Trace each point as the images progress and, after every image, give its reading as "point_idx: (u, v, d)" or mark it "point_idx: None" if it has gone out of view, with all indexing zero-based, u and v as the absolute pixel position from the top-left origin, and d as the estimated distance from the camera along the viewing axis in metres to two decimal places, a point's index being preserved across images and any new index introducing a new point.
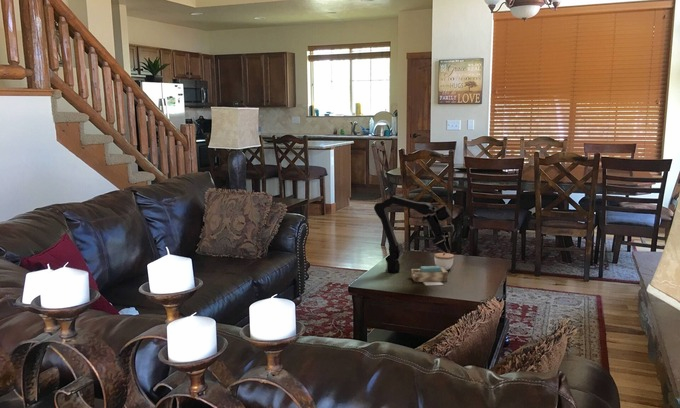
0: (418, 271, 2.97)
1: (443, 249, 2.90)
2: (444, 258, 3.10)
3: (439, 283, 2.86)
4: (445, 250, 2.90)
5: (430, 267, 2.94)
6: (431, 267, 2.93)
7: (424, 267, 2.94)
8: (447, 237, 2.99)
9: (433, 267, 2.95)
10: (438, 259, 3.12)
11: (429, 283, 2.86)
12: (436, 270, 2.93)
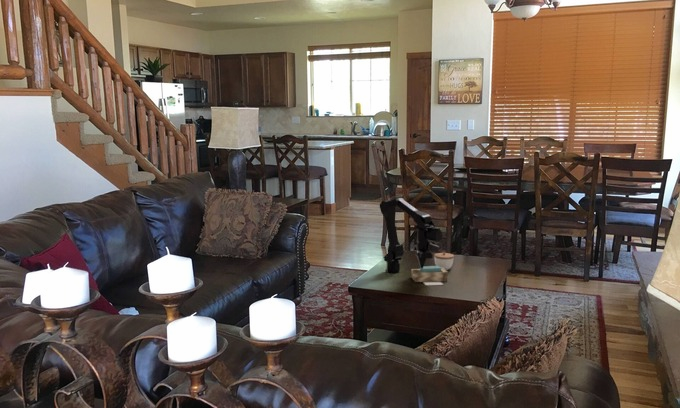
0: (418, 271, 2.97)
1: (421, 263, 2.92)
2: (444, 258, 3.10)
3: (439, 283, 2.86)
4: (422, 264, 2.93)
5: (430, 267, 2.94)
6: (431, 267, 2.93)
7: (424, 267, 2.94)
8: None
9: (432, 267, 2.95)
10: (438, 259, 3.12)
11: (429, 283, 2.86)
12: (436, 270, 2.93)
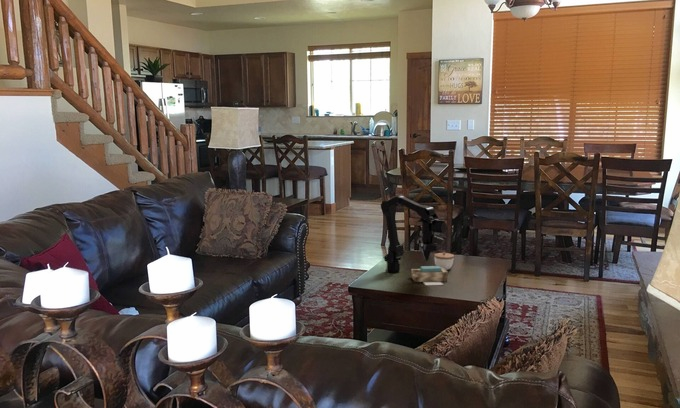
0: (418, 271, 2.97)
1: (426, 256, 2.92)
2: (444, 258, 3.10)
3: (439, 283, 2.86)
4: (427, 257, 2.92)
5: (430, 267, 2.94)
6: (431, 267, 2.93)
7: (424, 267, 2.94)
8: None
9: (433, 267, 2.95)
10: (438, 259, 3.12)
11: (429, 283, 2.86)
12: (436, 270, 2.93)
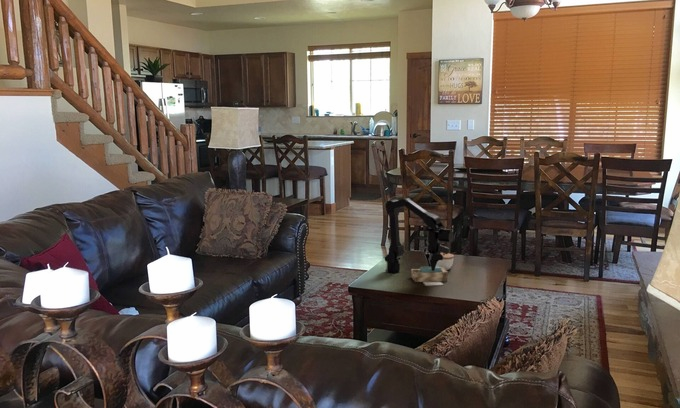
0: (418, 271, 2.97)
1: (432, 266, 2.91)
2: (444, 258, 3.10)
3: (439, 283, 2.86)
4: (433, 267, 2.91)
5: (430, 267, 2.94)
6: None
7: (424, 267, 2.94)
8: None
9: None
10: None
11: (429, 283, 2.86)
12: (436, 270, 2.93)
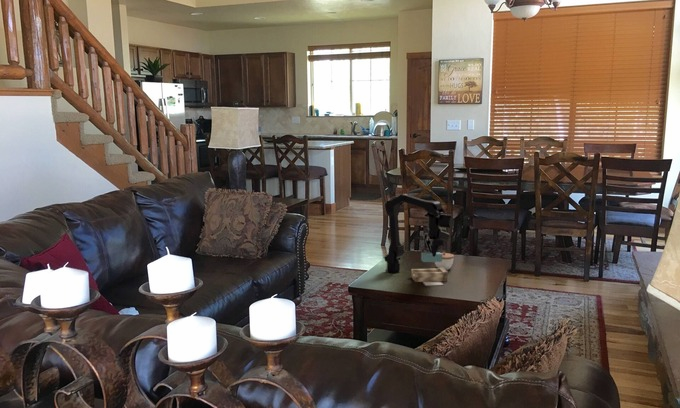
0: (418, 271, 2.97)
1: (433, 252, 2.89)
2: (444, 258, 3.10)
3: (439, 283, 2.86)
4: (434, 253, 2.89)
5: (431, 253, 2.92)
6: None
7: (425, 253, 2.92)
8: None
9: None
10: None
11: (429, 283, 2.86)
12: (437, 256, 2.90)
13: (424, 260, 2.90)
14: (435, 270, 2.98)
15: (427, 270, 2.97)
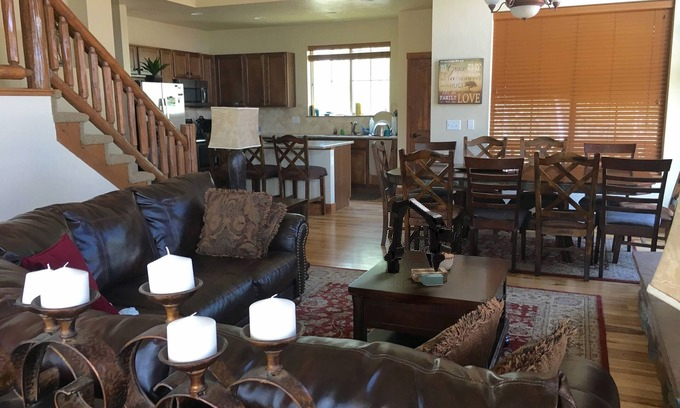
0: (418, 271, 2.97)
1: (435, 267, 2.80)
2: None
3: None
4: (436, 269, 2.80)
5: (431, 275, 2.86)
6: (433, 276, 2.85)
7: (426, 275, 2.86)
8: None
9: (434, 275, 2.86)
10: None
11: None
12: (438, 278, 2.84)
13: (424, 283, 2.84)
14: None
15: (427, 270, 2.97)
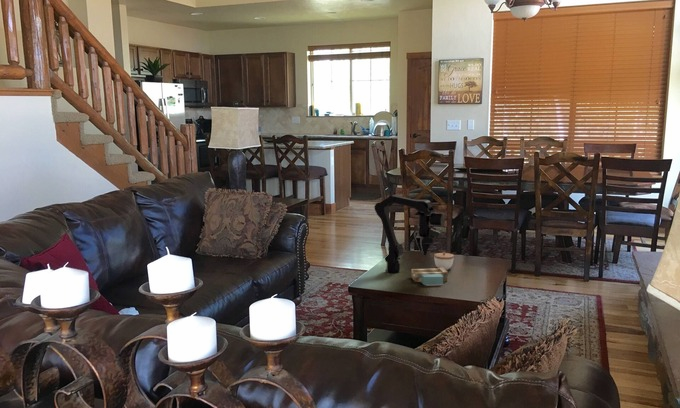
0: (418, 271, 2.97)
1: (424, 250, 2.92)
2: (444, 258, 3.10)
3: None
4: (425, 252, 2.93)
5: (431, 275, 2.86)
6: (433, 276, 2.85)
7: (426, 275, 2.86)
8: None
9: (434, 275, 2.86)
10: (438, 259, 3.12)
11: None
12: (438, 278, 2.84)
13: (424, 283, 2.84)
14: (435, 270, 2.98)
15: (427, 270, 2.97)
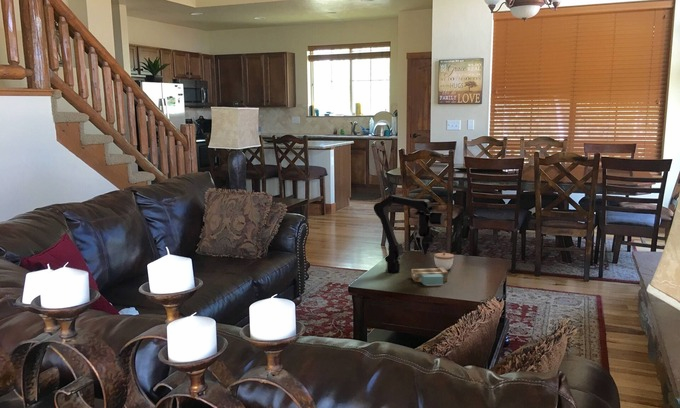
0: (418, 271, 2.97)
1: (424, 250, 2.93)
2: (444, 258, 3.10)
3: None
4: (425, 251, 2.93)
5: (431, 275, 2.86)
6: (433, 276, 2.85)
7: (426, 275, 2.86)
8: None
9: (434, 275, 2.86)
10: (438, 259, 3.12)
11: None
12: (438, 278, 2.84)
13: (424, 283, 2.84)
14: (435, 270, 2.98)
15: (427, 270, 2.97)
